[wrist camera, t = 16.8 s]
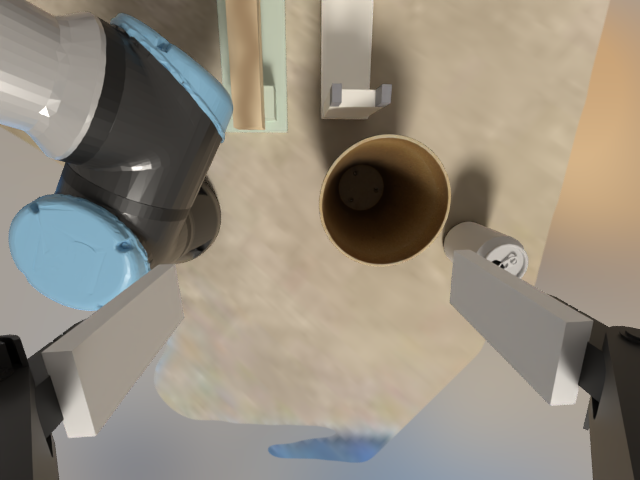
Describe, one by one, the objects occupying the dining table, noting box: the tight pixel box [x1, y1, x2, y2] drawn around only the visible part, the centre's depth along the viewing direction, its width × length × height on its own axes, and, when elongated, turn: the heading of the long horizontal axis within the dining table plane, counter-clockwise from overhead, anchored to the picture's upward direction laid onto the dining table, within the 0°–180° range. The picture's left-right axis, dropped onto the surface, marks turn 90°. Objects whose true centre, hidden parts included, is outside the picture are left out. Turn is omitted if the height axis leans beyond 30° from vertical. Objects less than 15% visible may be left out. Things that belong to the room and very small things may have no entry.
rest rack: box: [217, 0, 288, 133], centre depth 41 cm, size 9×27×5 cm, turn 0°
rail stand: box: [321, 0, 392, 119], centre depth 37 cm, size 7×23×15 cm, turn 0°
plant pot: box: [319, 134, 451, 267], centre depth 42 cm, size 15×15×16 cm
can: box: [444, 222, 528, 279], centre depth 48 cm, size 8×8×12 cm
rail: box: [225, 0, 265, 130], centre depth 37 cm, size 4×27×4 cm, turn 0°
